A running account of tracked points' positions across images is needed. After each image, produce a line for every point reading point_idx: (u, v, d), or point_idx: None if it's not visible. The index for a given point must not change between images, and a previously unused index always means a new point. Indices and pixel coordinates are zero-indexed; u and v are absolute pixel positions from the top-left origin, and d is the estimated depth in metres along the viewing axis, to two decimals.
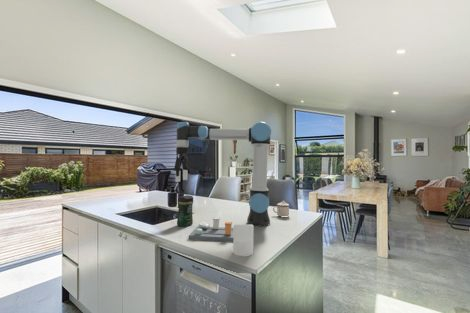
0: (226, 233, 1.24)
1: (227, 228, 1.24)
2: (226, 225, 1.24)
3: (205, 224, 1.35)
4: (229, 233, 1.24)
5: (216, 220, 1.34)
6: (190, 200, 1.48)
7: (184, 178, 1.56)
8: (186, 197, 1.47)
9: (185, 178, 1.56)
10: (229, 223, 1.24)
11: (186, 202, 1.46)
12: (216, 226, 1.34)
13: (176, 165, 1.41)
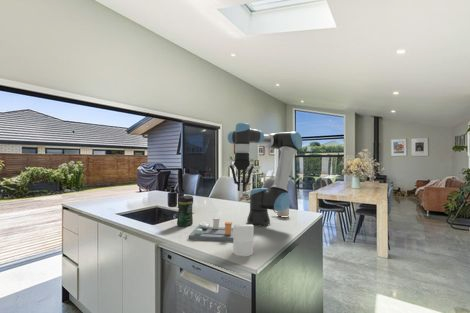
0: (226, 233, 1.24)
1: (227, 228, 1.24)
2: (226, 225, 1.24)
3: (205, 224, 1.35)
4: (229, 233, 1.24)
5: (216, 220, 1.34)
6: (190, 200, 1.48)
7: None
8: (186, 197, 1.47)
9: None
10: (229, 223, 1.24)
11: (186, 202, 1.46)
12: (216, 226, 1.34)
13: None
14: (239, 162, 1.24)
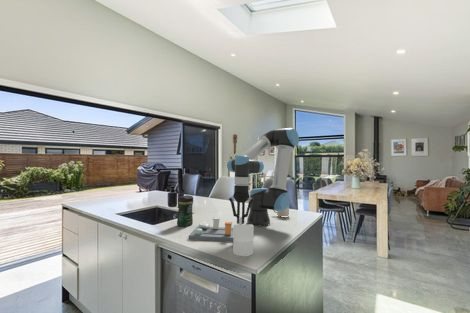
0: (226, 233, 1.24)
1: (227, 228, 1.24)
2: (226, 225, 1.24)
3: (205, 224, 1.35)
4: (229, 233, 1.24)
5: (216, 220, 1.34)
6: (190, 200, 1.48)
7: None
8: (186, 197, 1.47)
9: None
10: (229, 223, 1.24)
11: (186, 202, 1.46)
12: (216, 226, 1.34)
13: (233, 211, 1.25)
14: (238, 195, 1.24)
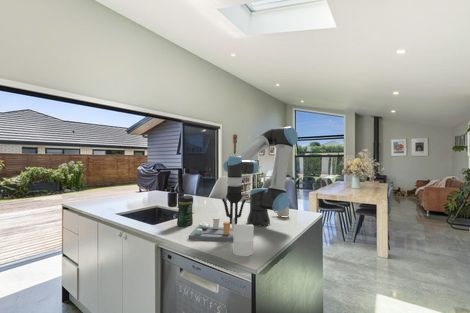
0: (224, 233, 1.24)
1: (225, 228, 1.24)
2: (224, 225, 1.24)
3: (205, 224, 1.35)
4: (227, 233, 1.24)
5: (216, 220, 1.34)
6: (190, 200, 1.48)
7: None
8: (186, 197, 1.47)
9: None
10: (227, 223, 1.24)
11: (186, 202, 1.46)
12: (216, 226, 1.34)
13: (226, 211, 1.26)
14: (231, 195, 1.24)
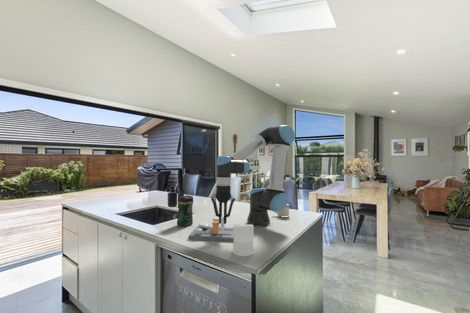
0: (213, 232, 1.25)
1: (214, 227, 1.25)
2: (213, 224, 1.25)
3: (205, 224, 1.35)
4: (216, 232, 1.24)
5: (216, 220, 1.34)
6: (190, 200, 1.48)
7: None
8: (186, 197, 1.47)
9: None
10: (216, 222, 1.25)
11: (186, 202, 1.46)
12: None
13: None
14: (220, 195, 1.25)
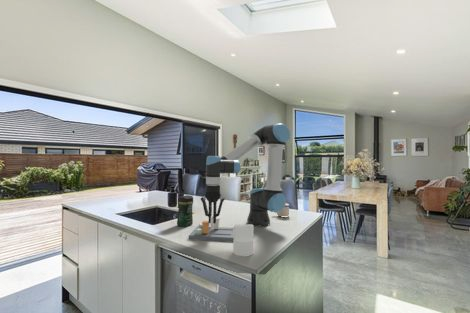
0: (203, 232, 1.25)
1: (204, 227, 1.25)
2: (203, 224, 1.25)
3: None
4: (206, 232, 1.25)
5: (216, 220, 1.34)
6: (190, 200, 1.48)
7: None
8: (186, 197, 1.47)
9: None
10: (206, 222, 1.25)
11: (186, 202, 1.46)
12: (216, 226, 1.34)
13: None
14: (210, 194, 1.26)
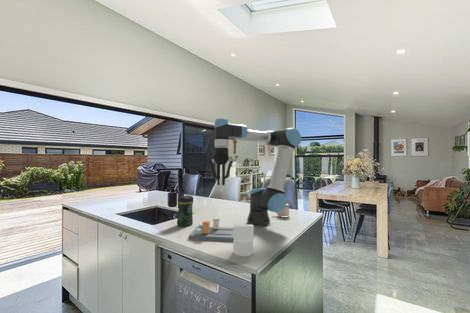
0: (203, 232, 1.25)
1: (204, 227, 1.25)
2: (203, 224, 1.25)
3: None
4: (206, 232, 1.25)
5: (216, 220, 1.34)
6: (190, 200, 1.48)
7: None
8: (186, 197, 1.47)
9: None
10: (206, 222, 1.25)
11: (186, 202, 1.46)
12: (216, 226, 1.34)
13: None
14: (218, 157, 1.27)
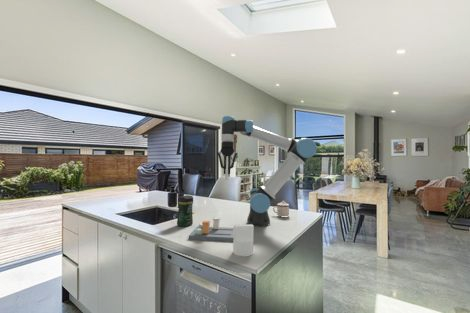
0: (203, 232, 1.25)
1: (204, 227, 1.25)
2: (203, 224, 1.25)
3: None
4: (206, 232, 1.25)
5: (216, 220, 1.34)
6: (190, 200, 1.48)
7: None
8: (186, 197, 1.47)
9: None
10: (206, 222, 1.25)
11: (186, 202, 1.46)
12: (216, 226, 1.34)
13: None
14: (225, 149, 1.46)
